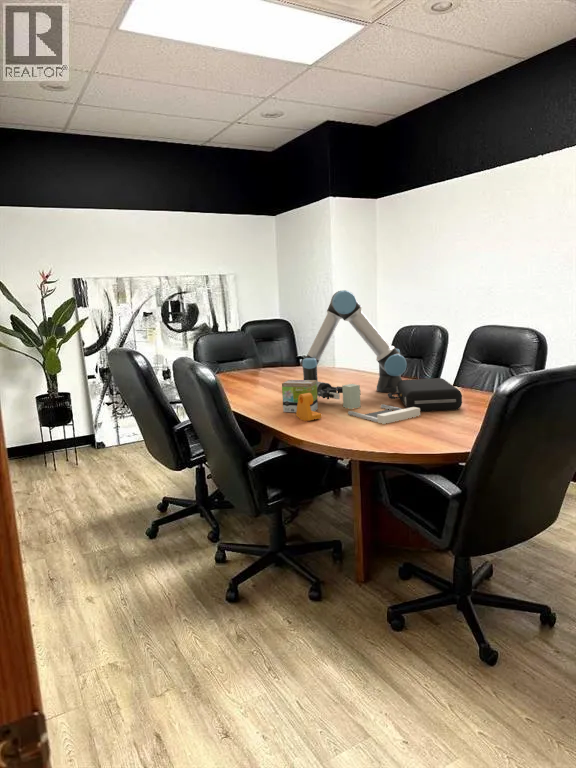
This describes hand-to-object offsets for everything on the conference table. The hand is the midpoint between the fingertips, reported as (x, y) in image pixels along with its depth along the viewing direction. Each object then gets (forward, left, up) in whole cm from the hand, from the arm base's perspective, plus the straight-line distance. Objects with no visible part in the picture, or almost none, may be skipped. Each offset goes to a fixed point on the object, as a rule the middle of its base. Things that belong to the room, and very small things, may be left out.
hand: (349, 394), depth 265 cm
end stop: (-1, +35, -6) cm, 35 cm away
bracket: (+27, +6, -7) cm, 29 cm away
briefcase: (-29, +19, -7) cm, 35 cm away
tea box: (+21, -11, -7) cm, 25 cm away
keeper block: (-1, +1, -7) cm, 7 cm away
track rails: (-1, +22, -6) cm, 23 cm away
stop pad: (-1, +25, -6) cm, 26 cm away
